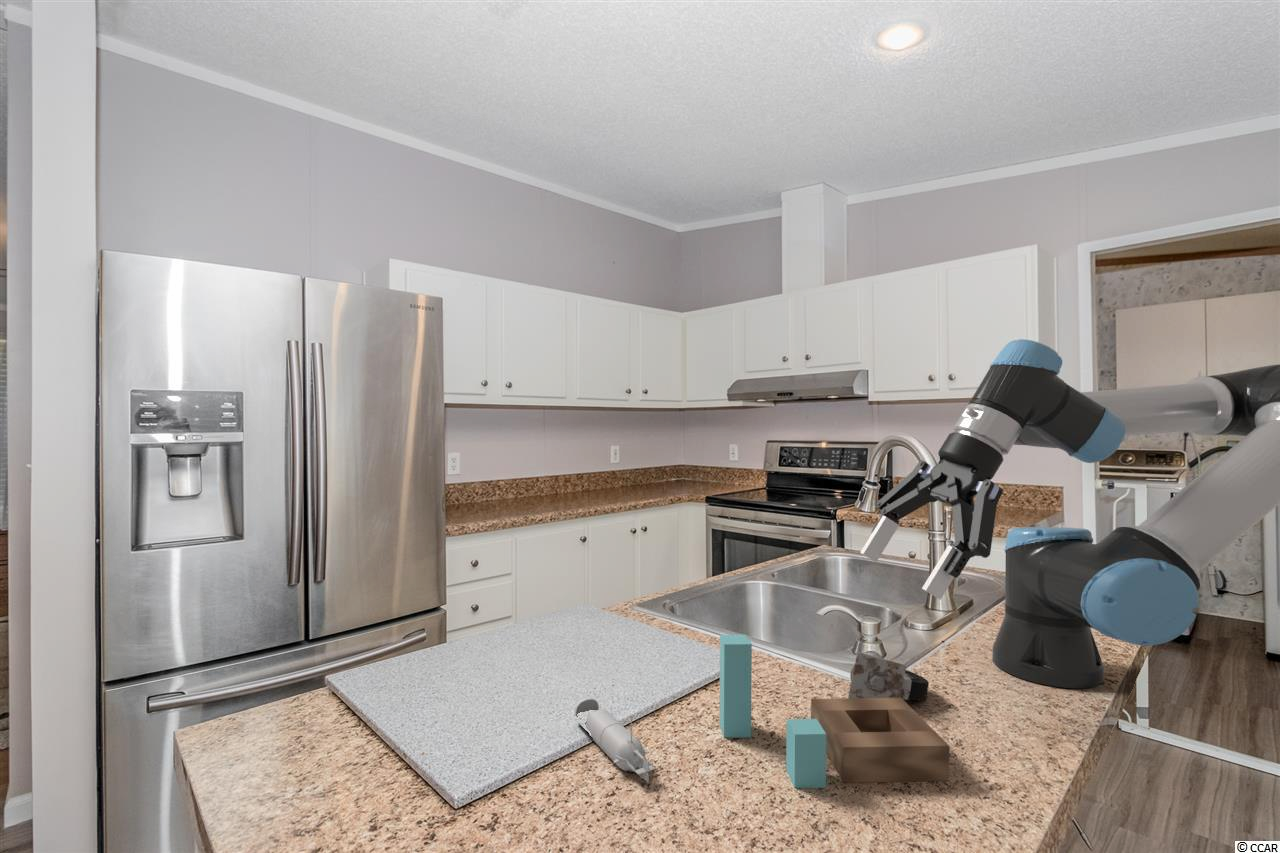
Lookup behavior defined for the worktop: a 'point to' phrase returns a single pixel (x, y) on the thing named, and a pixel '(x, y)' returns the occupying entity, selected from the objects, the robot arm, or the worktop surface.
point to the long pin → (735, 685)
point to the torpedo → (615, 739)
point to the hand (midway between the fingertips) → (897, 574)
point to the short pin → (806, 753)
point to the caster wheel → (884, 679)
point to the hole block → (880, 741)
